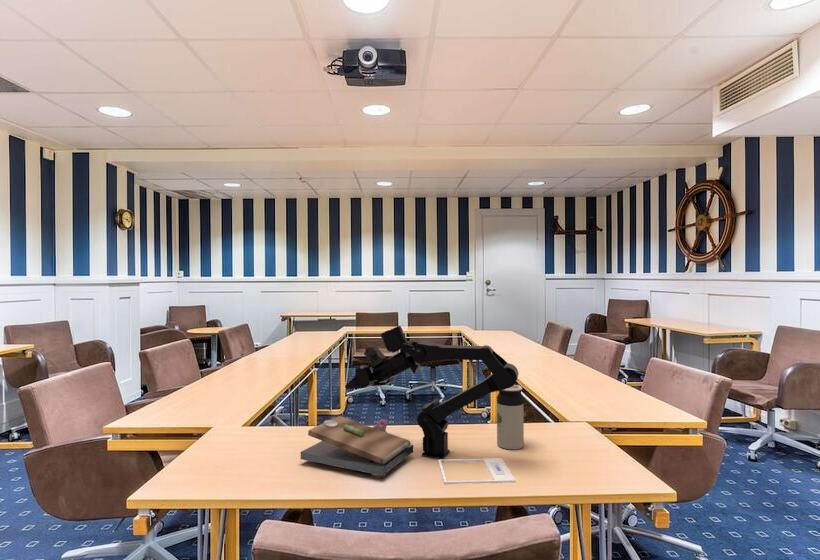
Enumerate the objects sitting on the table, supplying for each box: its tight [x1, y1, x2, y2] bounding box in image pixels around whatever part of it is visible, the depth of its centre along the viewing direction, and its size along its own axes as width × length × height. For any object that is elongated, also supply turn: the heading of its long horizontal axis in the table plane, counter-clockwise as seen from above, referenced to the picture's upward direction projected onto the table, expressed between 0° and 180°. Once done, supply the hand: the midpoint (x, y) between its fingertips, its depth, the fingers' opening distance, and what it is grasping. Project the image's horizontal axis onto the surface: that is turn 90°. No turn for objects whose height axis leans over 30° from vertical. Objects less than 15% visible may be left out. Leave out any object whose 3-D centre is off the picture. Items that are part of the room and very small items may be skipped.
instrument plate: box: [307, 415, 412, 464], centre depth 129 cm, size 25×15×3 cm, turn 64°
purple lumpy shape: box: [372, 419, 389, 433], centre depth 148 cm, size 10×5×7 cm, turn 179°
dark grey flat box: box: [300, 440, 414, 479], centre depth 130 cm, size 26×18×4 cm
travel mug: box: [496, 384, 525, 450], centre depth 141 cm, size 8×8×18 cm
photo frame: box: [437, 457, 517, 485], centre depth 122 cm, size 15×1×18 cm
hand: (353, 386), depth 142 cm, fingers open, 9 cm apart
